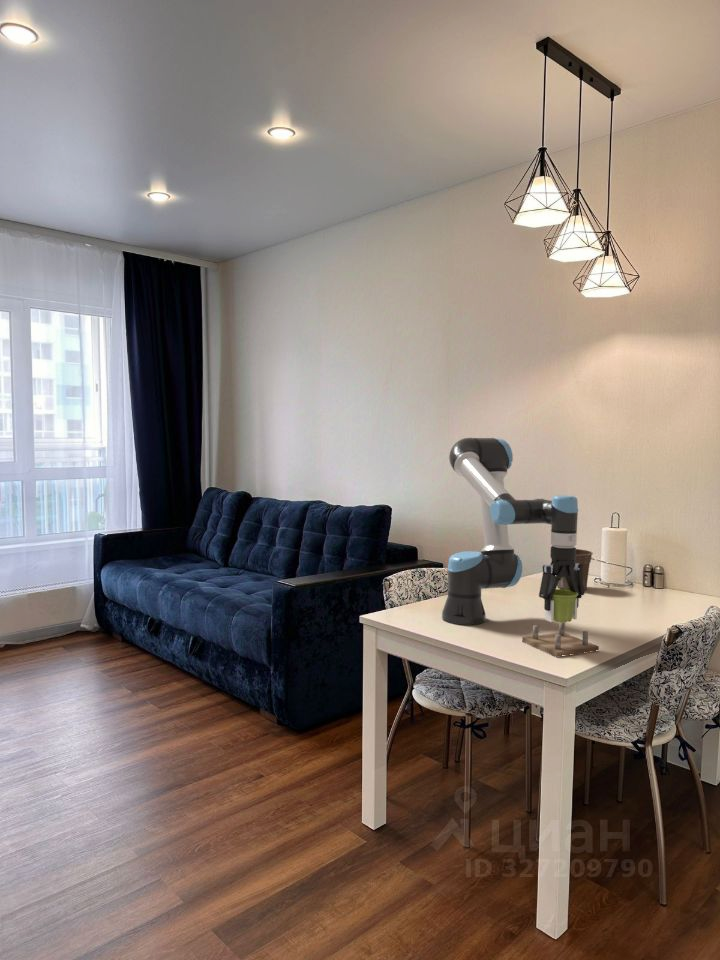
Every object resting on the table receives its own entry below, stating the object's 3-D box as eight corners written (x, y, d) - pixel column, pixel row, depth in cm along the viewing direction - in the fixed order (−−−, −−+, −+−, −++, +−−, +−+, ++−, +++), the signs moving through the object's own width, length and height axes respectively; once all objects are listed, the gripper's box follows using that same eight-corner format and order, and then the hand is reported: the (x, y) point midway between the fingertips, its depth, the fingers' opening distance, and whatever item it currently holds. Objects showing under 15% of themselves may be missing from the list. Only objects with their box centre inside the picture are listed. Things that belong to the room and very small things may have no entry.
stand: (522, 641, 211) (522, 624, 211) (562, 636, 218) (563, 619, 217) (556, 657, 197) (557, 638, 196) (598, 651, 203) (599, 633, 203)
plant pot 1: (557, 592, 283) (558, 554, 282) (547, 583, 299) (549, 547, 298) (596, 593, 282) (597, 555, 281) (584, 584, 298) (586, 548, 297)
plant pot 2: (577, 625, 201) (578, 596, 200) (545, 622, 203) (545, 594, 203) (576, 618, 210) (577, 590, 209) (545, 615, 212) (546, 588, 212)
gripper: (543, 549, 198) (541, 625, 199) (599, 546, 206) (596, 619, 207) (527, 546, 204) (525, 619, 206) (581, 542, 213) (579, 613, 214)
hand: (561, 619), depth 206 cm, fingers closed on plant pot 2, 8 cm apart
